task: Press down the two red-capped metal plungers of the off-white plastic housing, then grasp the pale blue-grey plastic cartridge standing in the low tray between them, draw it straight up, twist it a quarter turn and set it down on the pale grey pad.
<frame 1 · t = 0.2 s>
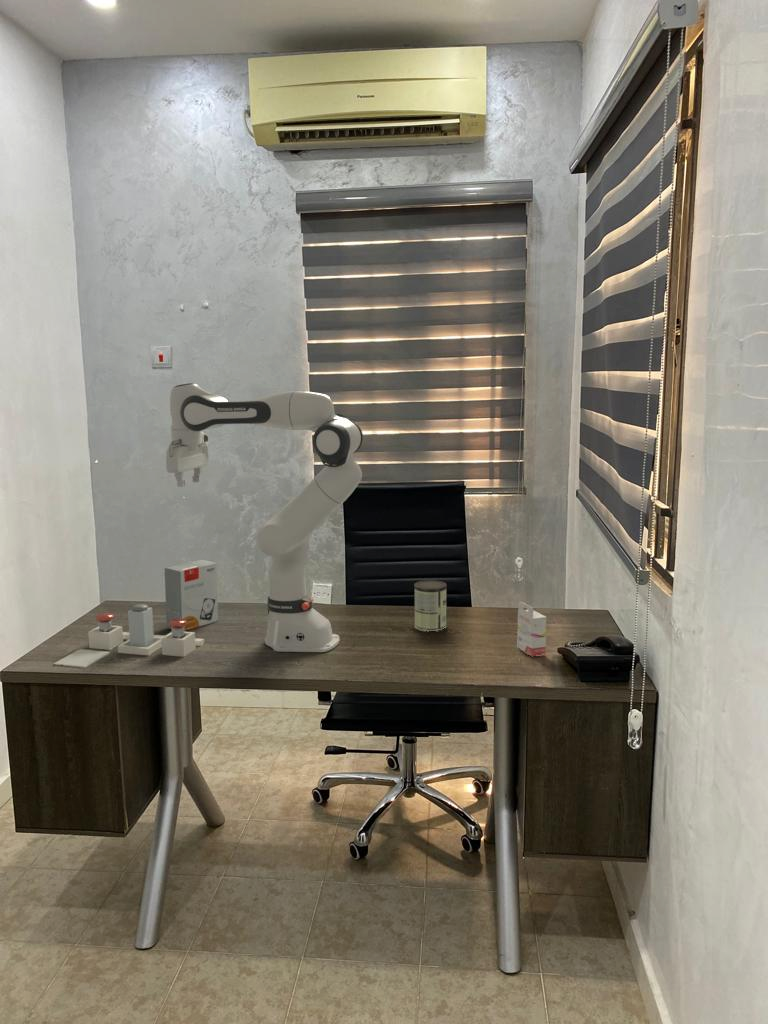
hand: (189, 484, 243), 47 cm above the table, fingers open, 8 cm apart
coffee can: (430, 627, 258), on the table
plunger b: (105, 626, 241), point 6 cm above the table, slide at 0.0 cm
pad: (82, 658, 230), on the table
plunger a: (178, 632, 235), point 6 cm above the table, slide at 0.0 cm
cartridge: (141, 627, 238), in the socket
socket: (142, 648, 239), on the table
tower a: (179, 651, 236), on the table
tower b: (106, 645, 242), on the table
hard drive box: (193, 625, 261), on the table
ink cartridge box: (531, 653, 234), on the table
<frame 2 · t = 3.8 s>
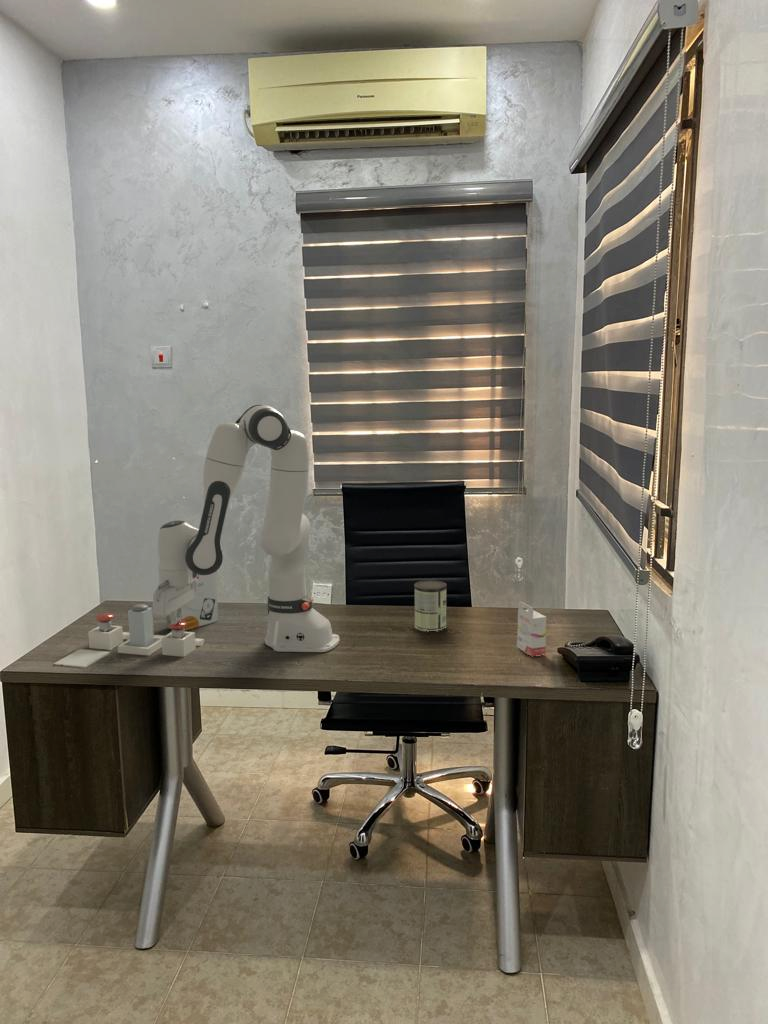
hand: (176, 623, 234), 9 cm above the table, fingers closed, pressing on plunger a
plunger a: (178, 634, 235), point 5 cm above the table, slide at 0.6 cm, touching gripper
everything else where it was.
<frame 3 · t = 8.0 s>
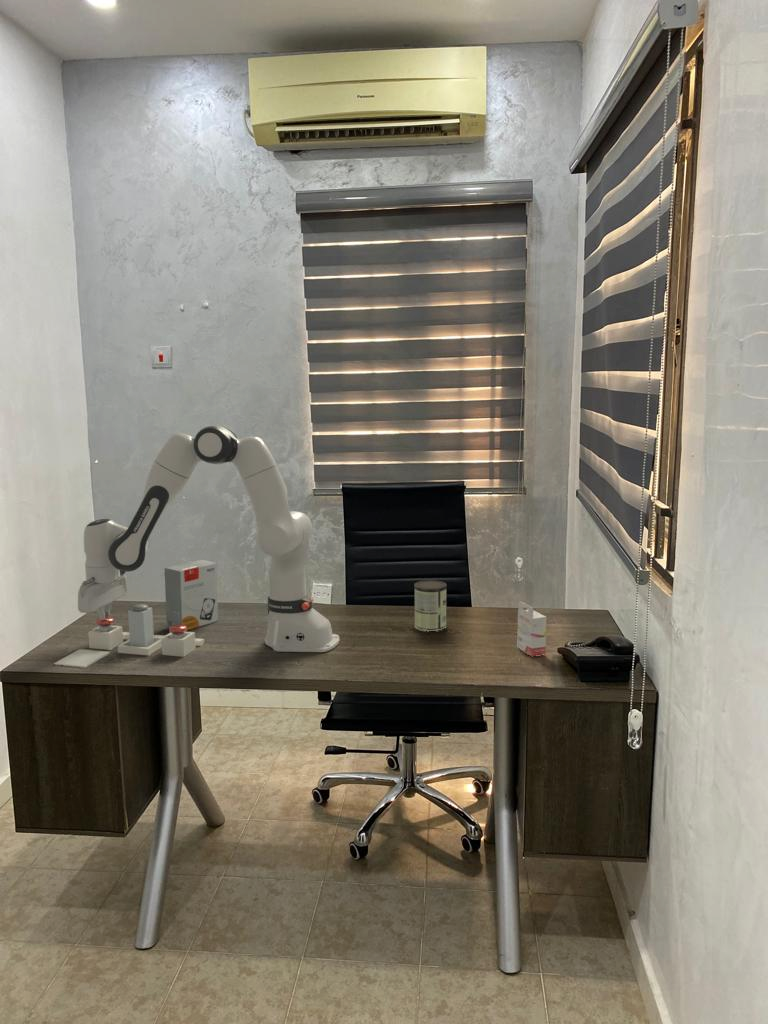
hand: (104, 618, 240), 8 cm above the table, fingers closed, pressing on plunger b
plunger b: (105, 630, 241), point 5 cm above the table, slide at 1.2 cm, touching gripper
plunger a: (178, 638, 235), point 4 cm above the table, slide at 1.8 cm
everything else where it was.
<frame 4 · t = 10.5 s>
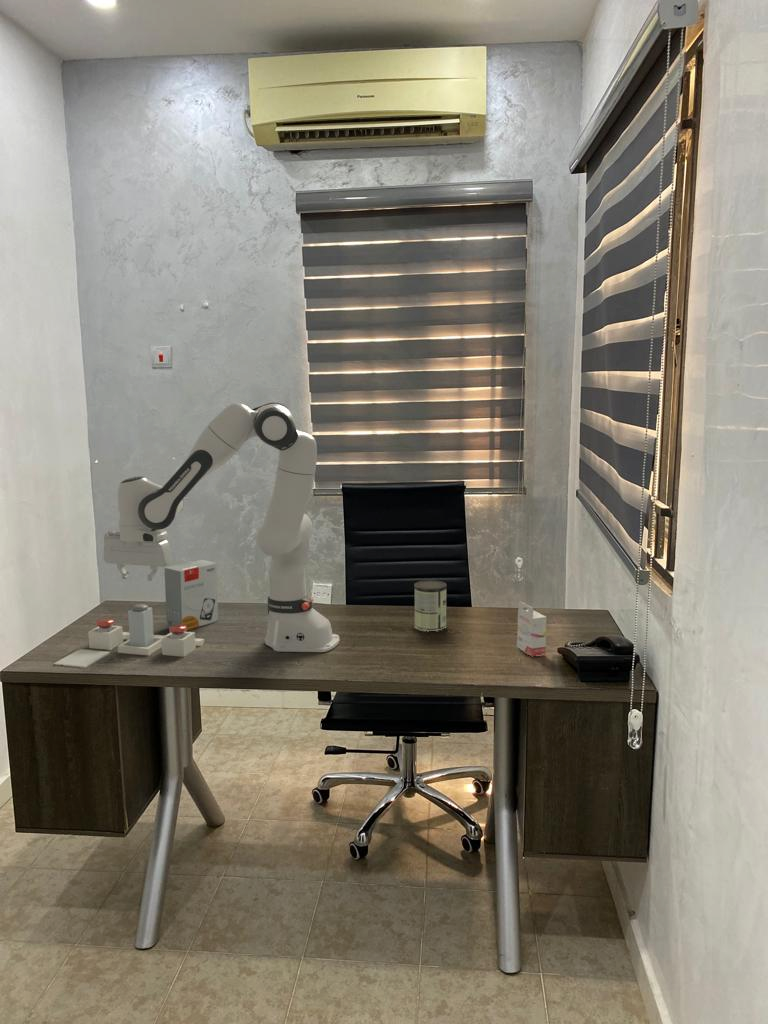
hand: (138, 579, 235), 21 cm above the table, fingers open, 7 cm apart
plunger b: (105, 632, 241), point 4 cm above the table, slide at 1.7 cm
everything else where it was.
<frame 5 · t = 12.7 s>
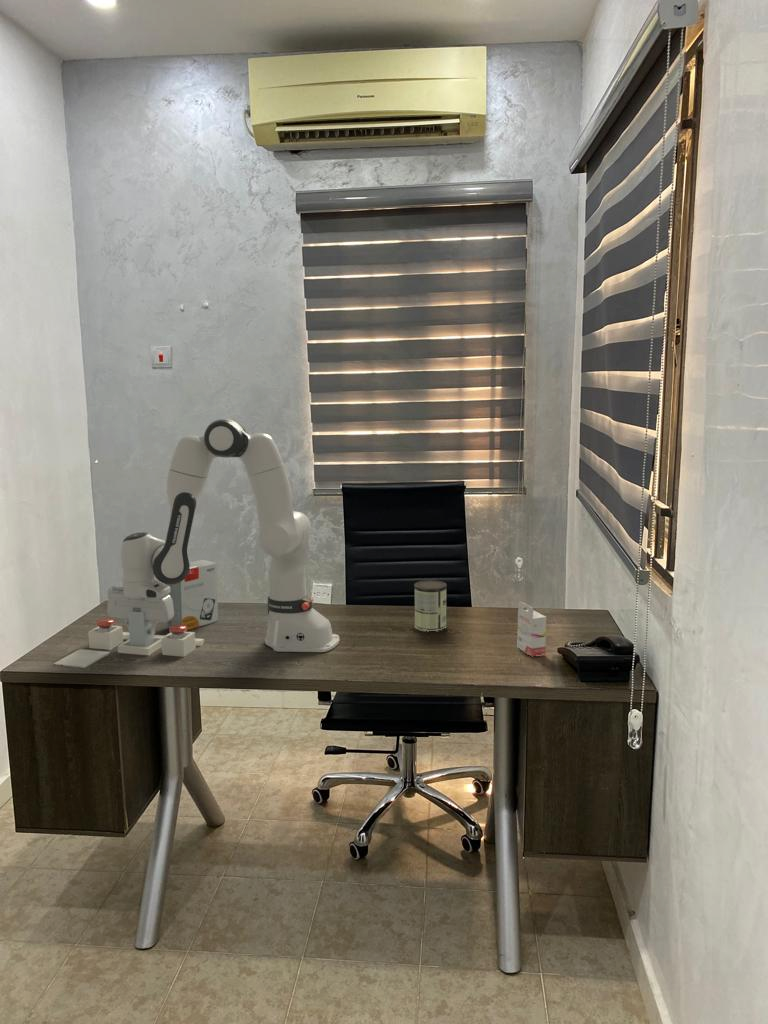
hand: (141, 633, 238), 5 cm above the table, fingers closed on cartridge, 5 cm apart
cartridge: (141, 627, 238), in the socket, touching gripper
everything else where it was.
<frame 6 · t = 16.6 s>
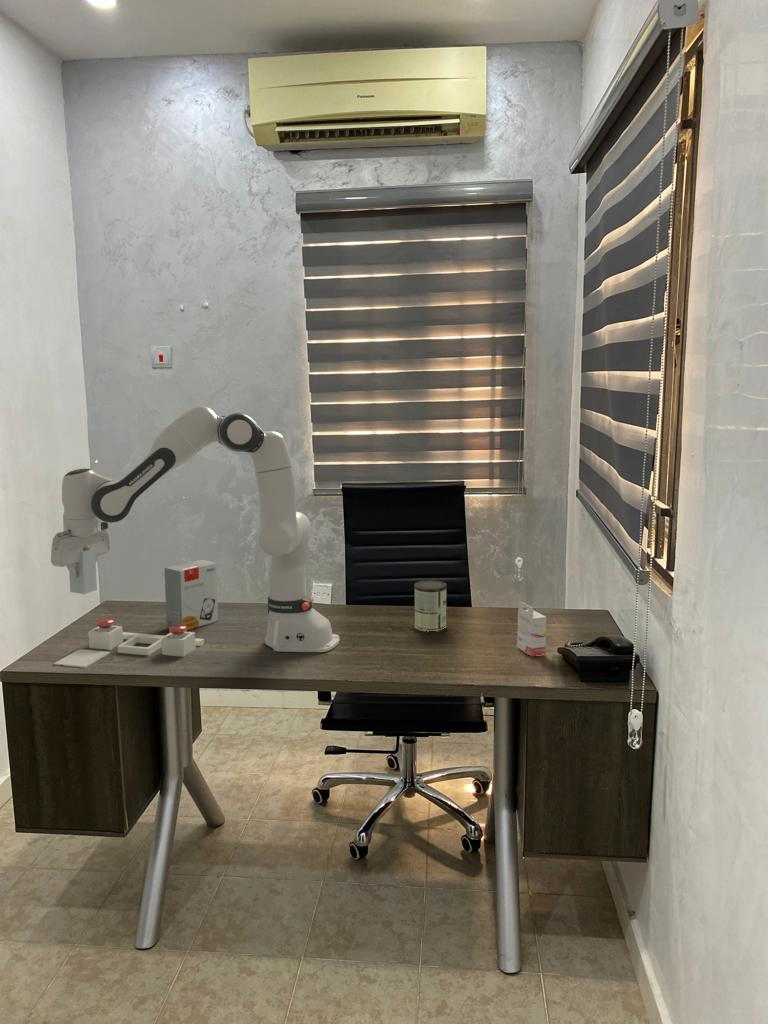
hand: (82, 575, 227), 24 cm above the table, fingers closed on cartridge, 5 cm apart
cartridge: (82, 568, 227), point 26 cm above the table, touching gripper
everything else where it was.
when the fingers open (6 cm above the table, at t = 20.6 s): cartridge drops 1 cm, resting on pad.
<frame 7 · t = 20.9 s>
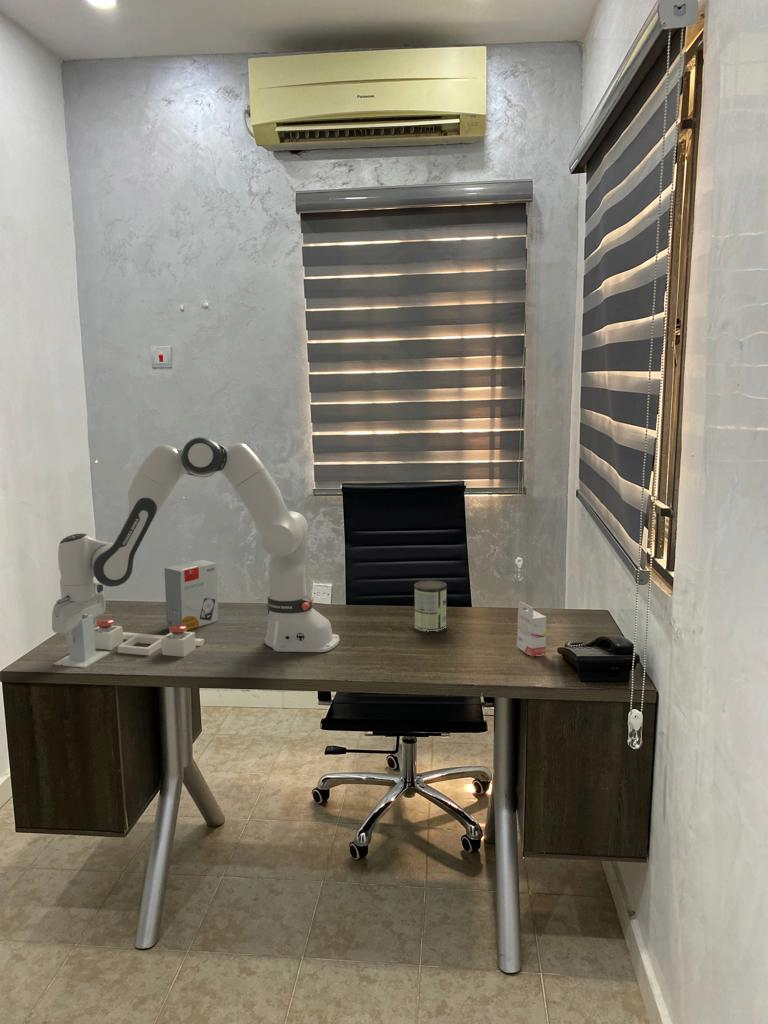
hand: (81, 638, 229), 6 cm above the table, fingers open, 8 cm apart
cartridge: (81, 635, 229), on the pad
everything else where it was.
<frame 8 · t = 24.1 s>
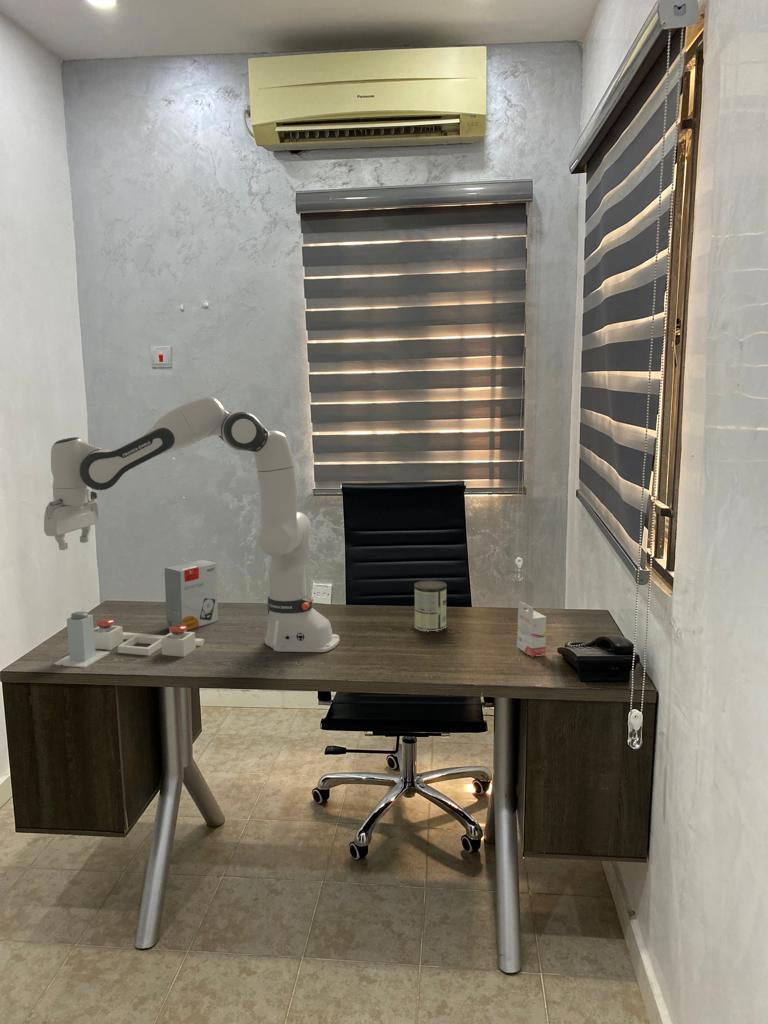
hand: (74, 545, 224), 33 cm above the table, fingers open, 8 cm apart
nothing on the table moved.
at the end: plunger a slide at 1.8 cm; plunger b slide at 1.7 cm; cartridge inside the target area on the pad (0.1 cm from its centre), point 6.9 cm above the pad's base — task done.
